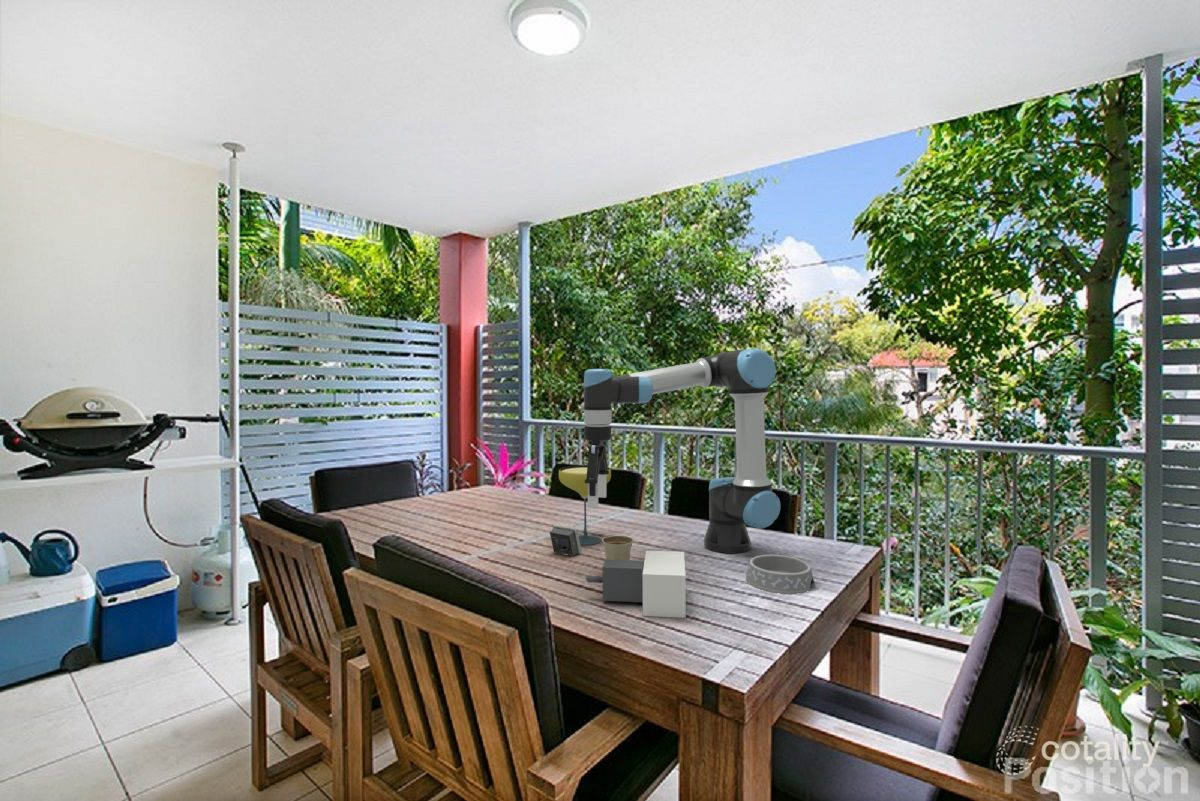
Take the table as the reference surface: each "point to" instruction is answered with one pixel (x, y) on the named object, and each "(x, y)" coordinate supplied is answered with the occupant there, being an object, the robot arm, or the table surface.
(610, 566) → the plug
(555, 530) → the electrical switch
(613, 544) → the flower pot
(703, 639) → the table surface
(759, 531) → the table surface
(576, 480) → the cocktail glass
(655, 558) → the white rectangular block
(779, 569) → the dog bowl
